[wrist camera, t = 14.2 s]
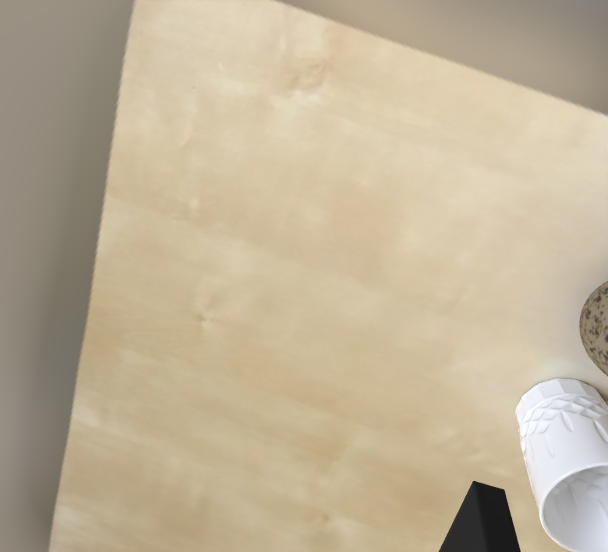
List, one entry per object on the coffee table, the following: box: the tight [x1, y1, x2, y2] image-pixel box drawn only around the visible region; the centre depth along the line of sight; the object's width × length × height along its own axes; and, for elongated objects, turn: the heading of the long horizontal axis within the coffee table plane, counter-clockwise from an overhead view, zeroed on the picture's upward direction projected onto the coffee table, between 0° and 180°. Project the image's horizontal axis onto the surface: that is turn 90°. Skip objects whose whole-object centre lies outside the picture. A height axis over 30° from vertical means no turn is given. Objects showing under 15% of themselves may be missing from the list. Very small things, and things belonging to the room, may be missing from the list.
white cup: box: [515, 378, 608, 552], centre depth 37 cm, size 8×8×10 cm
